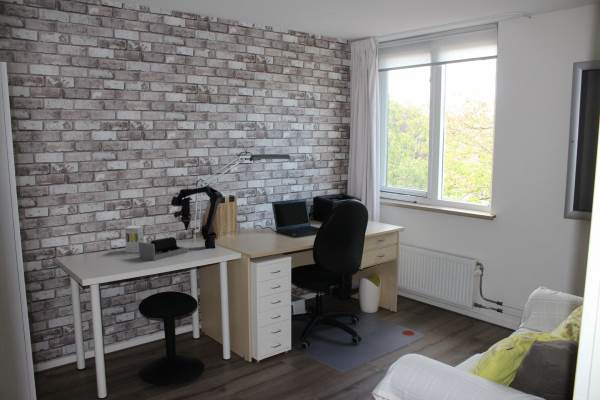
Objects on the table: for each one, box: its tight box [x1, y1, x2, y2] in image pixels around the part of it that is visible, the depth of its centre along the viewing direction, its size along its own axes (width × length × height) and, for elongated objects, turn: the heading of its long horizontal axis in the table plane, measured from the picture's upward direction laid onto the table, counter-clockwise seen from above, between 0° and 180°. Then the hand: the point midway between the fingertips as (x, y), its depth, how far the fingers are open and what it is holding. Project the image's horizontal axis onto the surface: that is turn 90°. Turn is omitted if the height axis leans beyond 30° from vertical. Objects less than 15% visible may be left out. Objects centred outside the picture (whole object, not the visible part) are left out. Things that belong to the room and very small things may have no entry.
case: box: [139, 242, 188, 262], centre depth 319 cm, size 27×14×10 cm, turn 144°
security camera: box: [150, 236, 178, 254], centre depth 320 cm, size 7×18×10 cm, turn 136°
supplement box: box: [124, 225, 145, 254], centre depth 331 cm, size 10×9×17 cm
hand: (186, 228), depth 345 cm, fingers open, 9 cm apart
